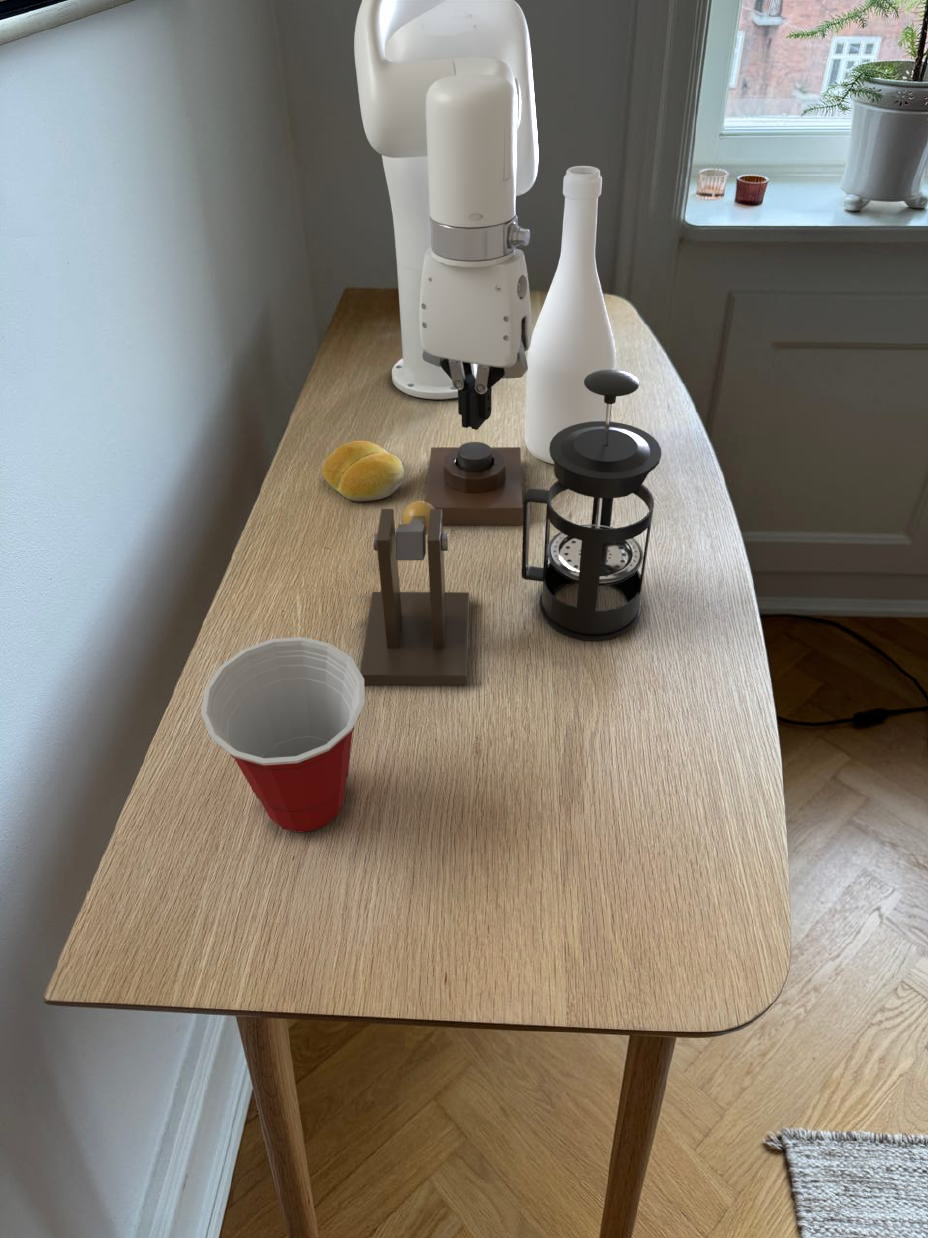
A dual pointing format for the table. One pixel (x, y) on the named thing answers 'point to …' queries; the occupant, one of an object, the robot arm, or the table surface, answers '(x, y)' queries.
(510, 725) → the table surface
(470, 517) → the button block
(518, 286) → the robot arm
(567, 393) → the wine bottle
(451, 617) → the bracket
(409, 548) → the grey lever with knob
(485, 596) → the table surface
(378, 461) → the bread roll
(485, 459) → the button
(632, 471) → the french press
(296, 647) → the plastic cup
